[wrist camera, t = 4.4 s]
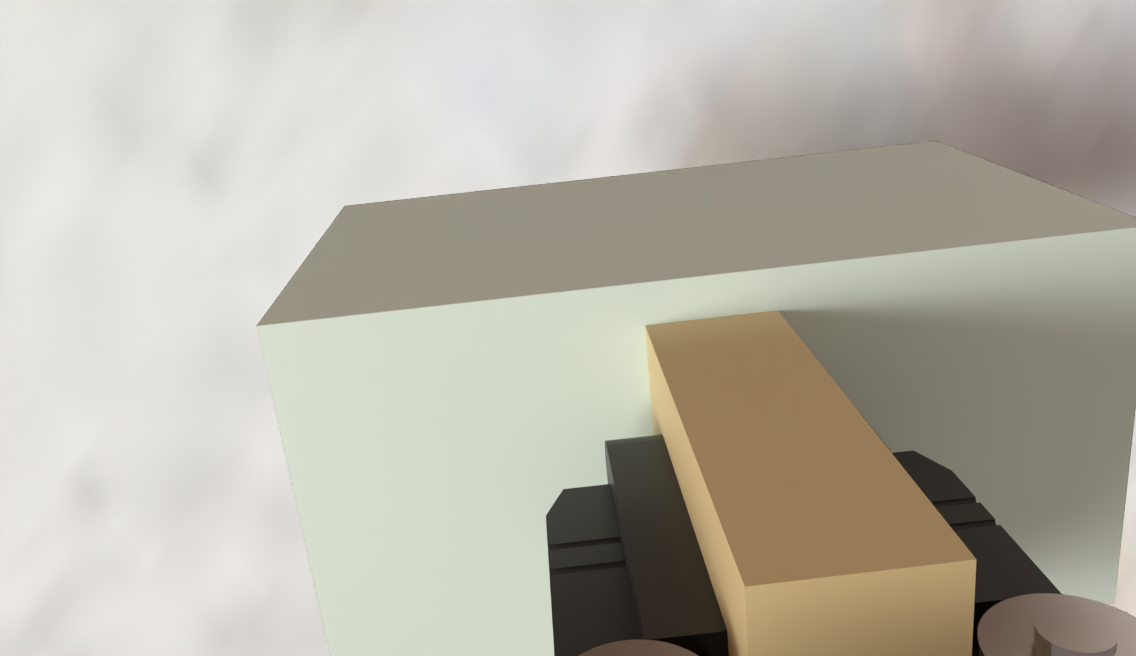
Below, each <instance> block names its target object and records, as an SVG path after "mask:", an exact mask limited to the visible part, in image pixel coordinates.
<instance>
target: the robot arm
mask: <svg viewBox="0 0 1136 656" xmlns="http://www.w3.org/2000/svg"><path fill="white" fill-rule="evenodd" d="M862 417H863V416H862ZM863 418H864V417H863ZM864 419H865V418H864ZM865 420H866V419H865ZM866 422H867V421H866ZM867 423H868V422H867ZM868 424H869V423H868ZM869 425H870V424H869ZM870 427H871V426H870ZM871 428H872V427H871ZM872 429H873V428H872ZM873 430H874V429H873ZM874 432H875V431H874ZM875 433H876V432H875ZM876 434H877V433H876ZM877 435H878V434H877ZM878 437H879V436H878ZM879 438H880V437H879ZM880 439H881V438H880ZM882 442H883V441H882ZM883 443H884V442H883ZM884 444H885V443H884ZM886 447H887V446H886ZM887 448H888V447H887ZM888 449H889V448H888ZM890 452H891V451H890ZM891 453H892V452H891ZM892 454H893V455H894V457H895V458H896V459H897V460H898V462H899V463H900V464H901V465H902V467H903V468H904V469H905V470H906V472H907V473H908V474H909V475H910V477H911V478H912V479H913V481H914V482H915V483H916V484H917V486H918V487H919V488H920V489H921V491H922V492H923V493H924V494H925V496H926V497H927V498H928V499H929V501H930V502H931V503H932V504H933V506H934V507H935V508H936V509H937V511H938V512H939V513H940V514H941V516H942V517H943V518H944V519H945V521H946V522H947V523H948V524H949V526H950V527H951V528H952V529H953V531H954V532H955V533H956V534H957V536H958V537H959V538H960V539H961V541H962V542H963V543H964V544H965V546H966V547H967V548H968V549H969V551H970V552H971V553H972V554H973V556H974V557H975V558H976V559H977V561H976V581H975V601H974V621H973V642H972V656H1136V618H1135V617H1134V616H1132V615H1130V614H1128V613H1127V612H1124V611H1122V610H1120V609H1117V608H1115V607H1113V606H1110V605H1107V604H1104V603H1101V602H1098V601H1095V600H1091V599H1087V598H1083V597H1078V596H1072V595H1065V594H1061V592H1060V591H1059V590H1058V589H1057V588H1056V587H1055V586H1054V585H1053V583H1052V582H1051V581H1050V580H1049V579H1048V578H1047V577H1046V576H1045V574H1044V573H1043V572H1042V571H1041V570H1040V569H1039V568H1038V567H1037V565H1036V564H1035V563H1034V562H1033V561H1032V560H1031V559H1030V558H1029V556H1028V555H1027V554H1026V553H1025V552H1024V551H1023V550H1022V549H1021V547H1020V546H1019V545H1018V544H1017V543H1016V542H1015V541H1014V540H1013V539H1012V537H1011V536H1010V535H1009V534H1008V533H1007V532H1006V531H1005V530H1004V528H1003V527H1002V526H1001V525H996V522H995V518H994V517H993V516H992V515H991V514H990V513H989V512H988V510H987V509H986V508H985V507H984V506H983V505H982V504H981V503H980V502H979V503H977V502H976V497H975V496H974V495H973V494H972V492H971V491H970V490H969V489H968V488H967V487H966V486H965V485H964V483H963V482H962V481H961V480H960V479H959V478H958V477H957V476H956V474H955V473H954V472H953V471H952V470H950V469H948V468H946V467H944V466H942V465H940V464H938V463H936V462H935V461H933V460H931V459H929V458H927V457H925V456H923V455H921V454H919V453H917V452H916V451H914V450H913V451H904V452H895V453H892ZM605 458H606V470H607V480H608V484H605V485H596V486H587V487H578V488H569V489H563V490H562V492H561V493H560V495H559V496H558V498H557V499H556V501H555V503H554V504H553V506H552V507H551V509H550V510H549V512H548V513H547V515H546V528H547V544H548V560H549V573H550V575H549V576H550V592H551V608H552V624H553V640H554V656H729V652H728V634H727V628H726V625H725V622H724V619H723V616H722V613H721V610H720V607H719V604H718V601H717V598H716V595H715V592H714V589H713V586H712V583H711V580H710V577H709V574H708V571H707V568H706V564H705V561H704V558H703V555H702V552H701V549H700V546H699V543H698V540H697V537H696V534H695V531H694V528H693V525H692V522H691V519H690V516H689V513H688V510H687V507H686V504H685V501H684V498H683V495H682V492H681V489H680V486H679V483H678V479H677V476H676V473H675V470H674V467H673V464H672V461H671V458H670V455H669V452H668V449H667V446H666V443H665V440H664V437H663V435H652V436H643V437H634V438H625V439H616V440H607V441H605Z"/></svg>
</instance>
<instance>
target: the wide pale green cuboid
mask: <svg viewBox="0 0 1136 656" xmlns="http://www.w3.org/2000/svg"><path fill="white" fill-rule="evenodd" d="M256 327H257V332H258V336H259V341H260V345H261V350H262V354H263V359H264V363H265V368H266V372H267V376H268V381H269V385H270V390H271V394H272V399H273V403H274V408H275V412H276V417H277V421H278V426H279V430H280V435H281V439H282V444H283V448H284V453H285V457H286V462H287V466H288V471H289V475H290V480H291V484H292V489H293V493H294V498H295V502H296V507H297V511H298V516H299V520H300V525H301V529H302V534H303V538H304V543H305V547H306V552H307V556H308V561H309V565H310V570H311V574H312V579H313V583H314V588H315V592H316V597H317V601H318V606H319V610H320V615H321V619H322V624H323V628H324V633H325V637H326V642H327V646H328V651H329V655H330V656H554V640H553V624H552V608H551V592H550V576H549V575H550V573H549V560H548V544H547V528H546V515H547V513H548V512H549V510H550V509H551V507H552V506H553V504H554V503H555V501H556V499H557V498H558V496H559V495H560V493H561V492H562V490H563V489H569V488H578V487H587V486H596V485H605V484H608V480H607V470H606V458H605V441H607V440H616V439H625V438H634V437H643V436H652V435H663V437H664V440H665V443H666V446H667V449H668V452H669V455H670V458H671V461H672V464H673V467H674V470H675V473H676V476H677V479H678V483H679V486H680V489H681V492H682V495H683V498H684V501H685V504H686V507H687V510H688V513H689V516H690V519H691V522H692V525H693V528H694V531H695V534H696V537H697V540H698V543H699V546H700V549H701V552H702V555H703V558H704V561H705V564H706V568H707V571H708V574H709V577H710V580H711V583H712V586H713V589H714V592H715V595H716V598H717V601H718V604H719V607H720V610H721V613H722V616H723V619H724V622H725V625H726V628H727V634H728V652H729V656H972V642H973V621H974V601H975V581H976V561H977V559H976V558H975V557H974V556H973V554H972V553H971V552H970V551H969V549H968V548H967V547H966V546H965V544H964V543H963V542H962V541H961V539H960V538H959V537H958V536H957V534H956V533H955V532H954V531H953V529H952V528H951V527H950V526H949V524H948V523H947V522H946V521H945V519H944V518H943V517H942V516H941V514H940V513H939V512H938V511H937V509H936V508H935V507H934V506H933V504H932V503H931V502H930V501H929V499H928V498H927V497H926V496H925V494H924V493H923V492H922V491H921V489H920V488H919V487H918V486H917V484H916V483H915V482H914V481H913V479H912V478H911V477H910V475H909V474H908V473H907V472H906V470H905V469H904V468H903V467H902V465H901V464H900V463H899V462H898V460H897V459H896V458H895V457H894V455H893V454H892V453H895V452H904V451H913V450H914V451H916V452H917V453H919V454H921V455H923V456H925V457H927V458H929V459H931V460H933V461H935V462H936V463H938V464H940V465H942V466H944V467H946V468H948V469H950V470H952V471H953V472H954V473H955V474H956V476H957V477H958V478H959V479H960V480H961V481H962V482H963V483H964V485H965V486H966V487H967V488H968V489H969V490H970V491H971V492H972V494H973V495H974V496H975V497H976V502H977V503H979V502H980V503H981V504H982V505H983V506H984V507H985V508H986V509H987V510H988V512H989V513H990V514H991V515H992V516H993V517H994V518H995V522H996V525H1001V526H1002V527H1003V528H1004V530H1005V531H1006V532H1007V533H1008V534H1009V535H1010V536H1011V537H1012V539H1013V540H1014V541H1015V542H1016V543H1017V544H1018V545H1019V546H1020V547H1021V549H1022V550H1023V551H1024V552H1025V553H1026V554H1027V555H1028V556H1029V558H1030V559H1031V560H1032V561H1033V562H1034V563H1035V564H1036V565H1037V567H1038V568H1039V569H1040V570H1041V571H1042V572H1043V573H1044V574H1045V576H1046V577H1047V578H1048V579H1049V580H1050V581H1051V582H1052V583H1053V585H1054V586H1055V587H1056V588H1057V589H1058V590H1059V591H1060V592H1061V594H1065V595H1072V596H1078V597H1083V598H1087V599H1091V600H1095V601H1098V602H1101V603H1104V604H1110V603H1115V595H1116V585H1117V576H1118V567H1119V558H1120V548H1121V539H1122V530H1123V520H1124V511H1125V502H1126V492H1127V483H1128V474H1129V464H1130V455H1131V446H1132V436H1133V427H1134V418H1135V409H1136V218H1135V217H1133V216H1130V215H1127V214H1125V213H1122V212H1120V211H1117V210H1114V209H1112V208H1109V207H1107V206H1104V205H1101V204H1099V203H1096V202H1094V201H1091V200H1088V199H1086V198H1083V197H1081V196H1078V195H1075V194H1073V193H1070V192H1068V191H1065V190H1062V189H1060V188H1057V187H1055V186H1052V185H1049V184H1047V183H1044V182H1042V181H1039V180H1036V179H1034V178H1031V177H1029V176H1026V175H1023V174H1021V173H1018V172H1016V171H1013V170H1010V169H1008V168H1005V167H1003V166H1000V165H997V164H995V163H992V162H990V161H987V160H984V159H982V158H979V157H977V156H974V155H971V154H969V153H966V152H964V151H961V150H958V149H956V148H953V147H951V146H948V145H946V144H943V143H940V142H938V141H928V142H919V143H910V144H901V145H892V146H883V147H874V148H865V149H856V150H847V151H838V152H829V153H820V154H811V155H801V156H792V157H783V158H774V159H765V160H756V161H747V162H738V163H729V164H720V165H711V166H702V167H693V168H684V169H675V170H665V171H656V172H647V173H638V174H629V175H620V176H611V177H602V178H593V179H584V180H575V181H566V182H557V183H548V184H539V185H530V186H520V187H511V188H502V189H493V190H484V191H475V192H466V193H457V194H448V195H439V196H430V197H421V198H412V199H403V200H394V201H385V202H375V203H366V204H357V205H348V206H344V207H343V209H342V210H341V211H340V213H339V214H338V216H337V217H336V218H335V220H334V221H333V222H332V224H331V225H330V226H329V228H328V229H327V231H326V232H325V233H324V235H323V236H322V237H321V239H320V240H319V241H318V243H317V244H316V245H315V247H314V248H313V250H312V251H311V252H310V254H309V255H308V256H307V258H306V259H305V260H304V262H303V263H302V265H301V266H300V267H299V269H298V270H297V271H296V273H295V274H294V275H293V277H292V278H291V280H290V281H289V282H288V284H287V285H286V286H285V288H284V289H283V290H282V292H281V293H280V294H279V296H278V297H277V299H276V300H275V301H274V303H273V304H272V305H271V307H270V308H269V309H268V311H267V312H266V314H265V315H264V316H263V318H262V319H261V320H260V322H259V323H258V324H257V326H256ZM862 416H863V417H864V418H865V419H866V420H865V419H864V418H863V417H862ZM866 421H867V422H868V423H869V424H870V425H869V424H868V423H867V422H866ZM870 426H871V427H872V428H873V429H874V430H873V429H872V428H871V427H870ZM874 431H875V432H876V433H877V434H878V435H877V434H876V433H875V432H874ZM878 436H879V437H880V438H881V439H880V438H879V437H878ZM882 441H883V442H884V443H885V444H884V443H883V442H882ZM886 446H887V447H888V448H889V449H888V448H887V447H886ZM890 451H891V452H892V453H891V452H890Z"/></svg>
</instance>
